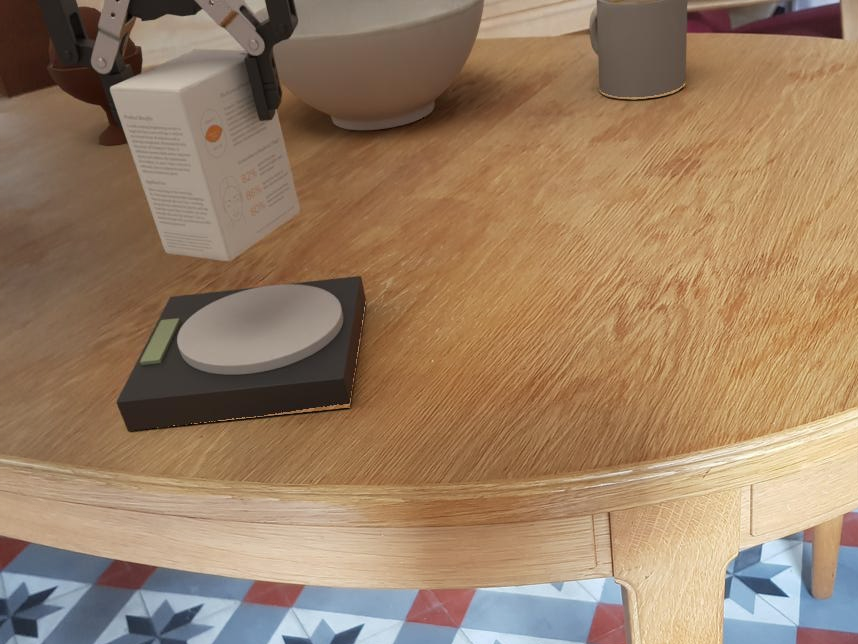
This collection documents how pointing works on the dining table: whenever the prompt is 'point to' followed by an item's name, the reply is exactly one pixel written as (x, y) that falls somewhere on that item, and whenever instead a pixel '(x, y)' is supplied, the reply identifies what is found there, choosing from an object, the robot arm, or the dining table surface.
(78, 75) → the ice cream bowl
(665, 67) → the coffee mug
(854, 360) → the dining table surface
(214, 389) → the scale
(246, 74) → the small box
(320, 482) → the dining table surface
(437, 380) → the dining table surface
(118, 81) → the robot arm
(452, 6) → the decorative bowl
